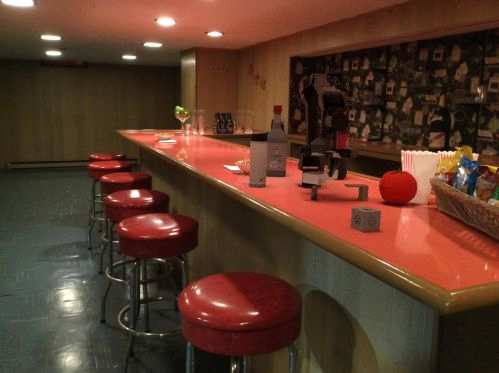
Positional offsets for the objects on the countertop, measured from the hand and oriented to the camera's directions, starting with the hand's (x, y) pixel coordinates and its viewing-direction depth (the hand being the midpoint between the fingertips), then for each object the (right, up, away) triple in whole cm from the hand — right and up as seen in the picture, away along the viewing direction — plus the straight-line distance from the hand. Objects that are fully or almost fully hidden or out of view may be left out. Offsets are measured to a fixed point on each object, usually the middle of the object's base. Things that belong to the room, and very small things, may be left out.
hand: (326, 176), depth 154 cm
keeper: (+9, -8, -3) cm, 12 cm away
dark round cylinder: (-5, -8, -5) cm, 10 cm away
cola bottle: (+12, 0, +43) cm, 45 cm away
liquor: (-15, +1, +46) cm, 49 cm away
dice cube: (+3, -14, -39) cm, 42 cm away
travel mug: (-23, -3, +18) cm, 29 cm away
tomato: (+21, -9, -7) cm, 24 cm away
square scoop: (-2, -1, -2) cm, 3 cm away
